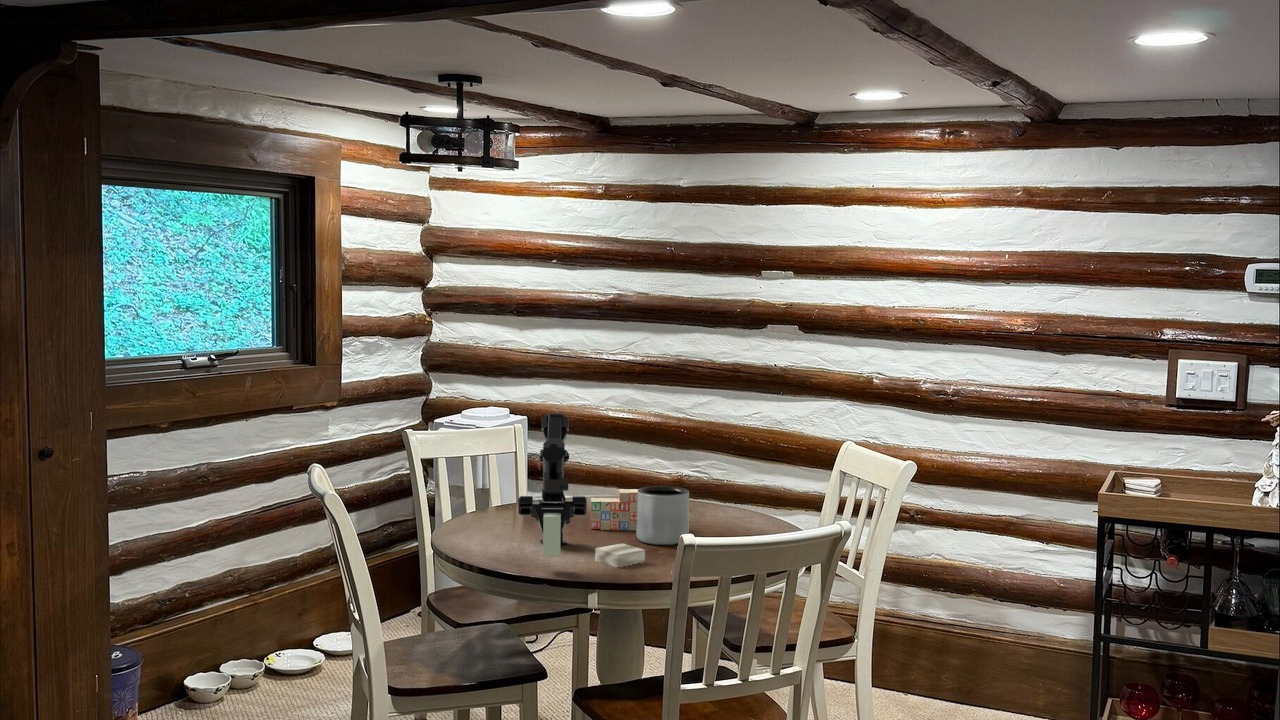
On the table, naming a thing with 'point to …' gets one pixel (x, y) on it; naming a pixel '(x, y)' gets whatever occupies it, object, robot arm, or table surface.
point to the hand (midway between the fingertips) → (551, 531)
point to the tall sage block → (551, 534)
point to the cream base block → (619, 555)
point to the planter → (662, 514)
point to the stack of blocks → (615, 511)
